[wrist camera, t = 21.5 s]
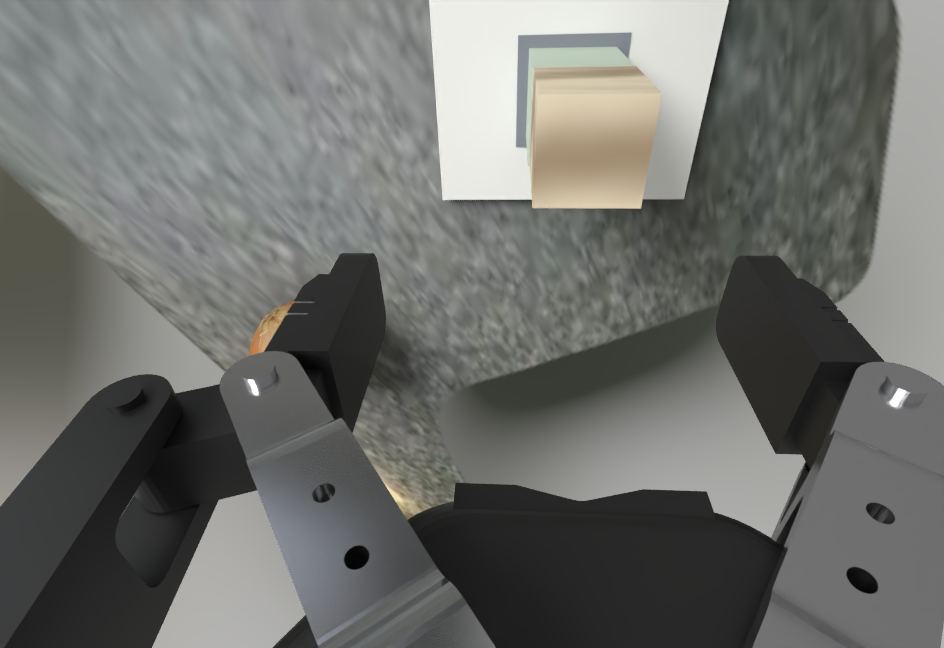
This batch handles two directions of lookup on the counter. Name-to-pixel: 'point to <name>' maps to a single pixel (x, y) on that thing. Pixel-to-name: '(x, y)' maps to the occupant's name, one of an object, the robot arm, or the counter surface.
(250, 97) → the counter surface
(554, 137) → the beech block
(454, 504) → the robot arm
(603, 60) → the sage block
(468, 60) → the baseplate
